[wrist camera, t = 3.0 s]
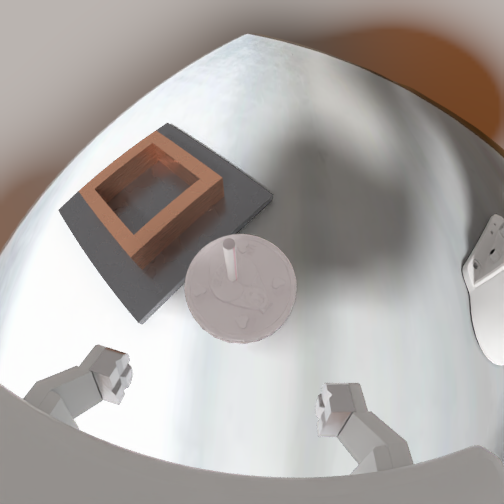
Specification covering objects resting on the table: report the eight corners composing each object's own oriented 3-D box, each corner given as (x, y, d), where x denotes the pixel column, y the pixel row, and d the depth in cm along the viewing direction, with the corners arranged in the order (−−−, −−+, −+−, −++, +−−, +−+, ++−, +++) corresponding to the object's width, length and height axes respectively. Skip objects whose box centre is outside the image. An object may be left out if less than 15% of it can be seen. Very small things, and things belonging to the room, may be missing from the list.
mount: (168, 128, 34) (163, 105, 30) (272, 200, 29) (275, 176, 25) (62, 214, 28) (46, 196, 24) (142, 324, 23) (125, 315, 20)
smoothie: (239, 268, 26) (235, 166, 13) (293, 313, 24) (345, 247, 12) (191, 318, 24) (133, 256, 11) (245, 367, 22) (244, 366, 10)
